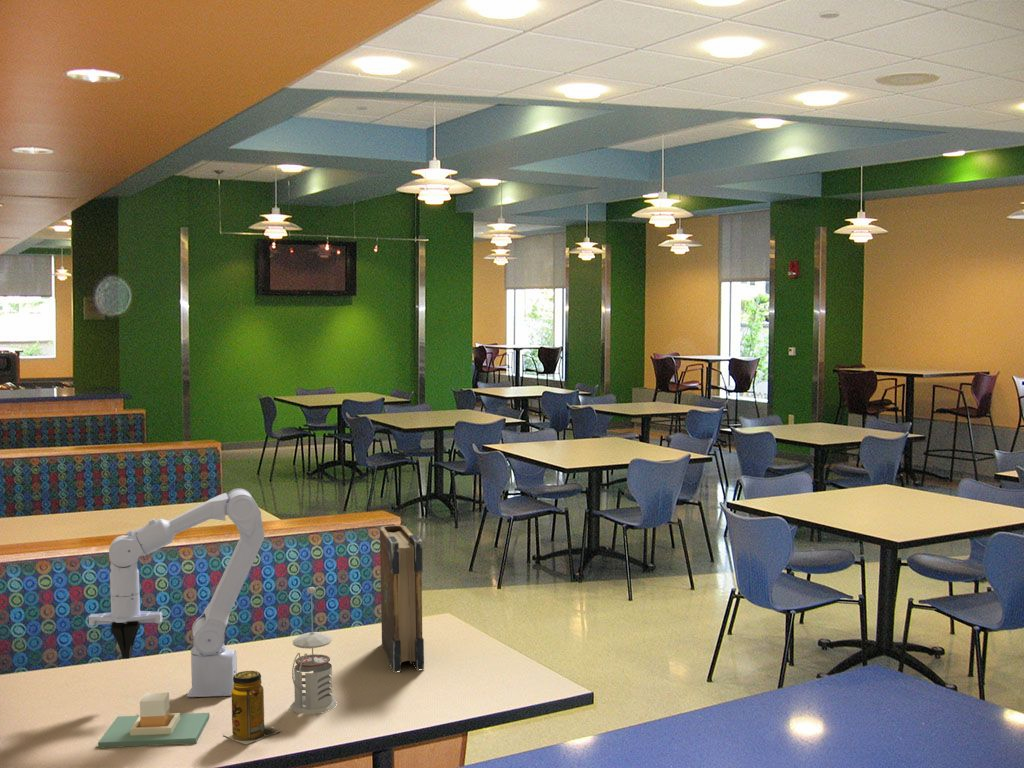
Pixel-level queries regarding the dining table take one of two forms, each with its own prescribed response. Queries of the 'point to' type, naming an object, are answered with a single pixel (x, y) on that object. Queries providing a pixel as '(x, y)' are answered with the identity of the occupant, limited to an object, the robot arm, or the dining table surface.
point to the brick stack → (155, 710)
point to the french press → (312, 674)
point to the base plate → (154, 731)
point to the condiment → (248, 709)
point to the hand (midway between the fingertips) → (126, 657)
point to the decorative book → (401, 596)
